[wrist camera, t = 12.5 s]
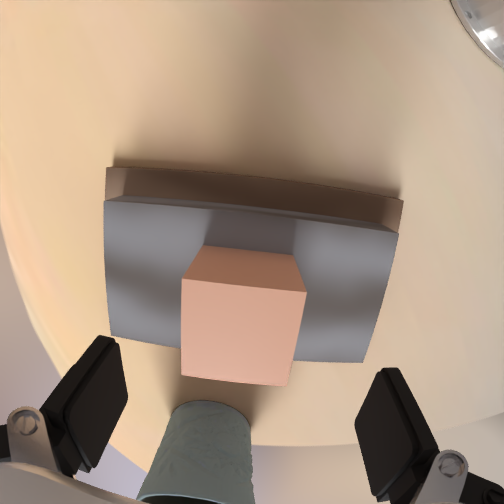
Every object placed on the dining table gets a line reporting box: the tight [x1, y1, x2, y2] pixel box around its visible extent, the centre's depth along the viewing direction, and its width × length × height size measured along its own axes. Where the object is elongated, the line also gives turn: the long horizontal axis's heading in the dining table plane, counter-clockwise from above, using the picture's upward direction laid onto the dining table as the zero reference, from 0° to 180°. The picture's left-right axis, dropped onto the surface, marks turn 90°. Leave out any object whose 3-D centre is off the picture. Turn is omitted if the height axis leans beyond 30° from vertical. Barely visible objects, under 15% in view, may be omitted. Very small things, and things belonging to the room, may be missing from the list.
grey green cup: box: [136, 400, 255, 504], centre depth 22 cm, size 10×10×12 cm
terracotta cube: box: [181, 245, 307, 386], centre depth 17 cm, size 6×6×6 cm
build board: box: [104, 167, 404, 363], centre depth 21 cm, size 14×22×4 cm, turn 84°
